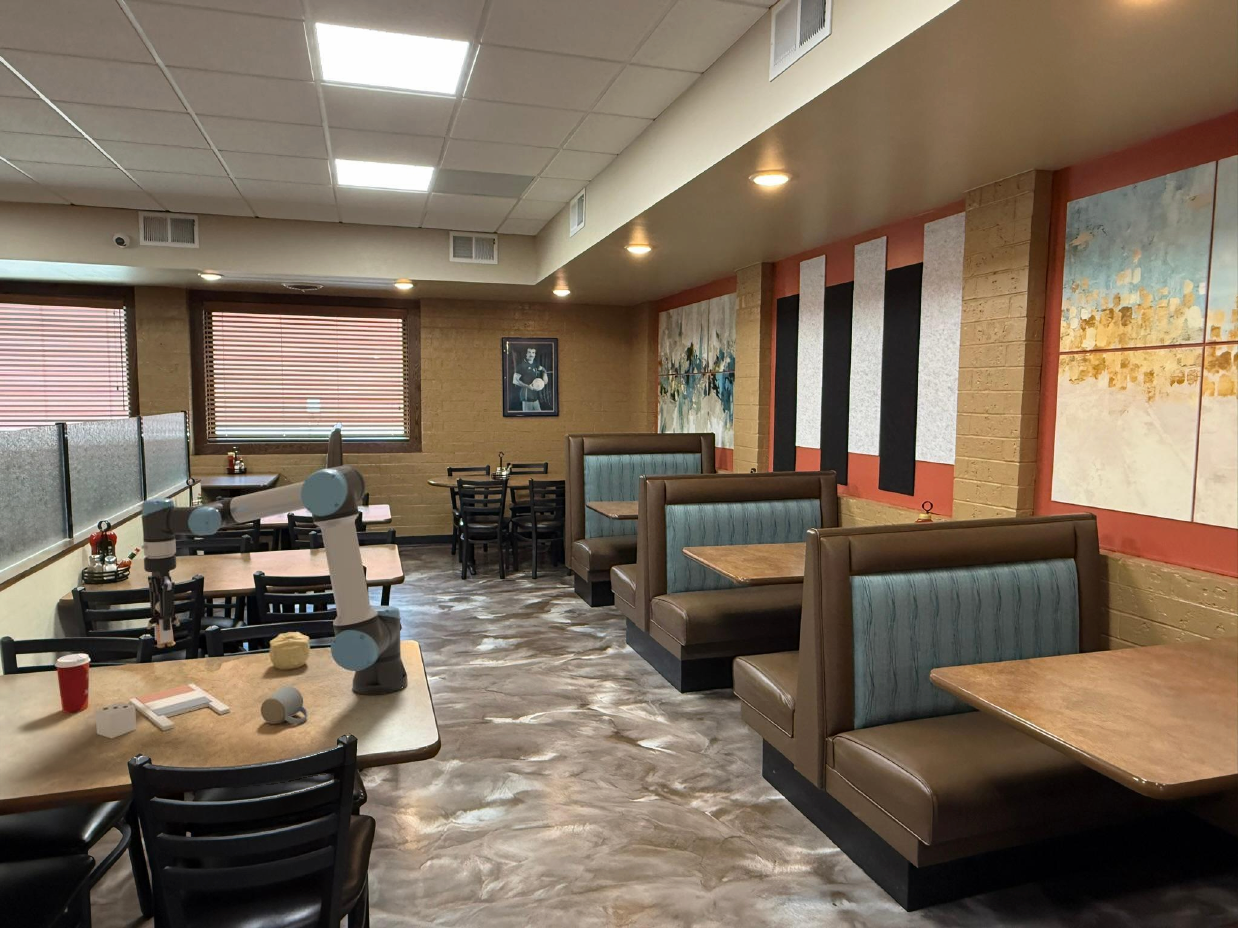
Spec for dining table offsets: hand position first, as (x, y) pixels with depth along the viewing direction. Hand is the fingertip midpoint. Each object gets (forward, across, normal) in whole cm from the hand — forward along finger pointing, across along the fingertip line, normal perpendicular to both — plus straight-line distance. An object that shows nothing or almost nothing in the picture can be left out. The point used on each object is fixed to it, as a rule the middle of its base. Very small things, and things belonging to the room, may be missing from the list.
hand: (163, 639), depth 214 cm
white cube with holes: (+16, +15, -16) cm, 27 cm away
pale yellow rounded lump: (+17, 0, +35) cm, 39 cm away
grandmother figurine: (+2, 0, 0) cm, 2 cm away
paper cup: (+17, -9, -19) cm, 27 cm away
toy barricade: (+16, +10, 0) cm, 19 cm away
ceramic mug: (+17, +38, +16) cm, 45 cm away
